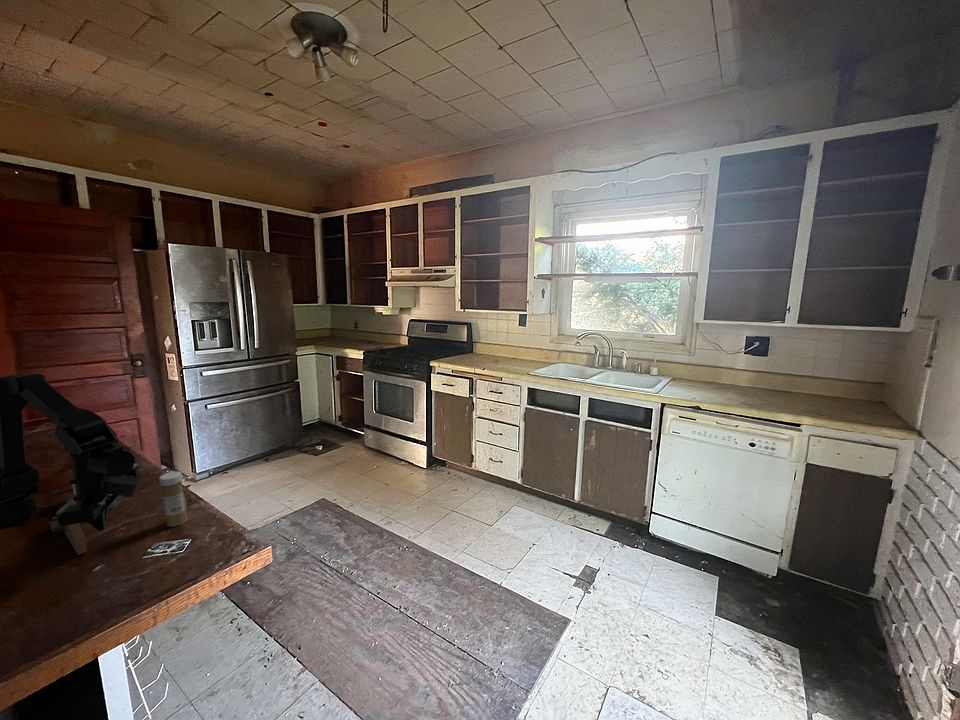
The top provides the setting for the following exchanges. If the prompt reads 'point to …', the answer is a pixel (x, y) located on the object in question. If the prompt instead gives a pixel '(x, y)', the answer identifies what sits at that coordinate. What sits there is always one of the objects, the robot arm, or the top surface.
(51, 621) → the top surface
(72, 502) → the plate
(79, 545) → the brown bar with knob
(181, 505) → the sprinkles bottle
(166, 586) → the top surface
